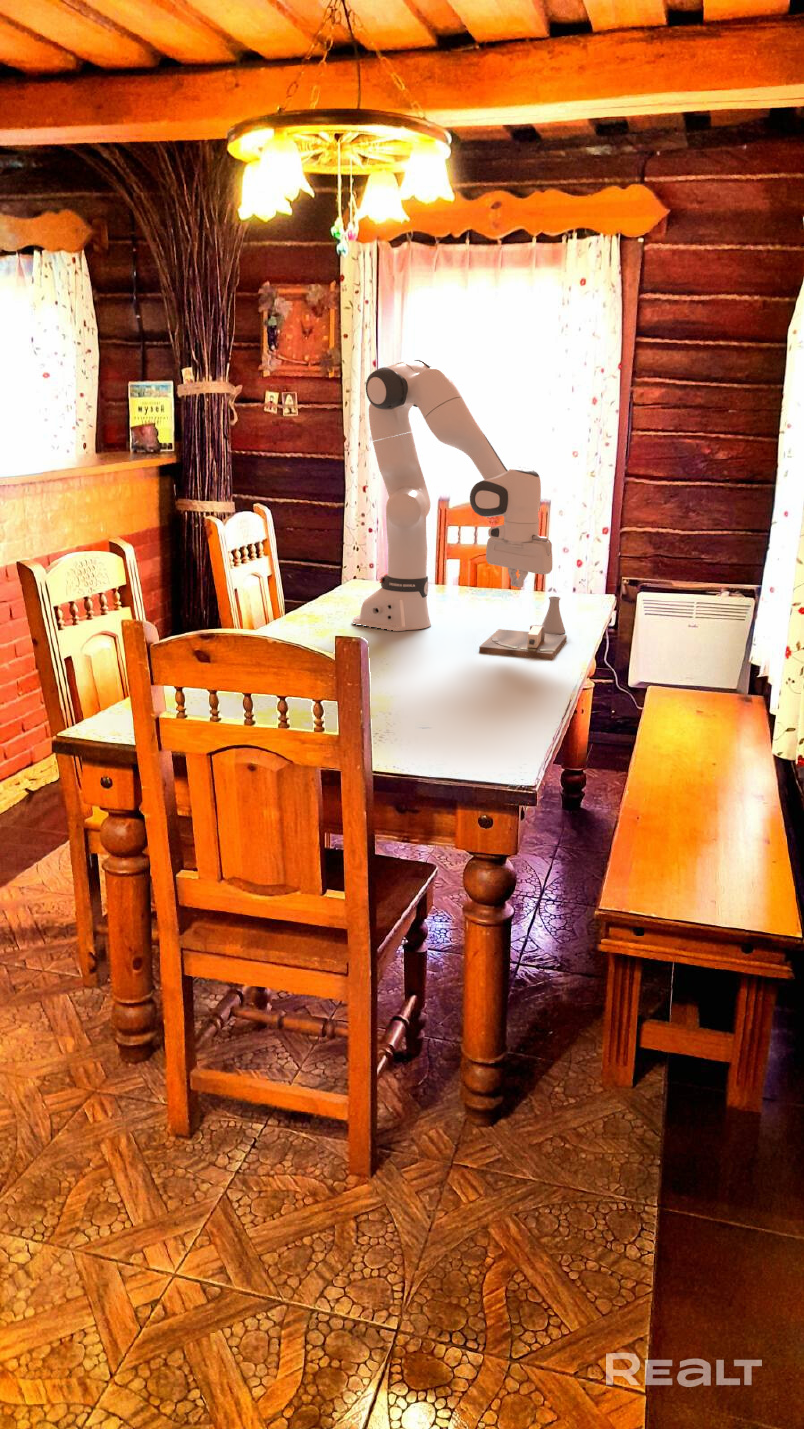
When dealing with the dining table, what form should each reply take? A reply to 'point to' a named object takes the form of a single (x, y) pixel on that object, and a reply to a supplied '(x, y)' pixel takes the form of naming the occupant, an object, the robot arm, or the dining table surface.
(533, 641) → the peg lever
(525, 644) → the board
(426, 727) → the dining table surface
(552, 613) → the flask
